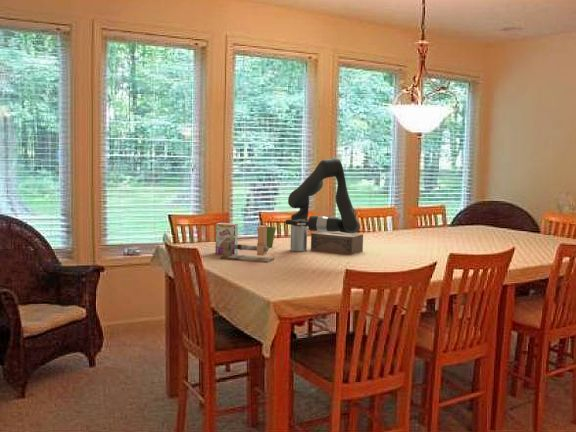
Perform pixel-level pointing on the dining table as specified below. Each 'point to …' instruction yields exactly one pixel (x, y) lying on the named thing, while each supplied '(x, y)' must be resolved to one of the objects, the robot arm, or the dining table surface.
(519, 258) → the dining table surface
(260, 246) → the tan wooden block
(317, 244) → the tissue box cover
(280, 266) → the dining table surface
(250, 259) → the pipe stand
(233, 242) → the candy bar box
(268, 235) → the plant pot
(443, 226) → the dining table surface
